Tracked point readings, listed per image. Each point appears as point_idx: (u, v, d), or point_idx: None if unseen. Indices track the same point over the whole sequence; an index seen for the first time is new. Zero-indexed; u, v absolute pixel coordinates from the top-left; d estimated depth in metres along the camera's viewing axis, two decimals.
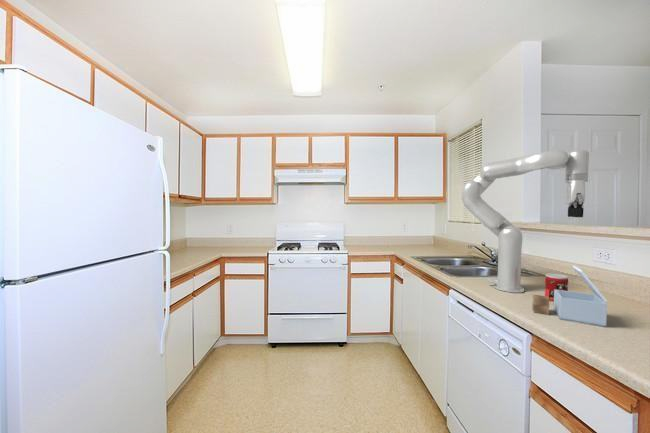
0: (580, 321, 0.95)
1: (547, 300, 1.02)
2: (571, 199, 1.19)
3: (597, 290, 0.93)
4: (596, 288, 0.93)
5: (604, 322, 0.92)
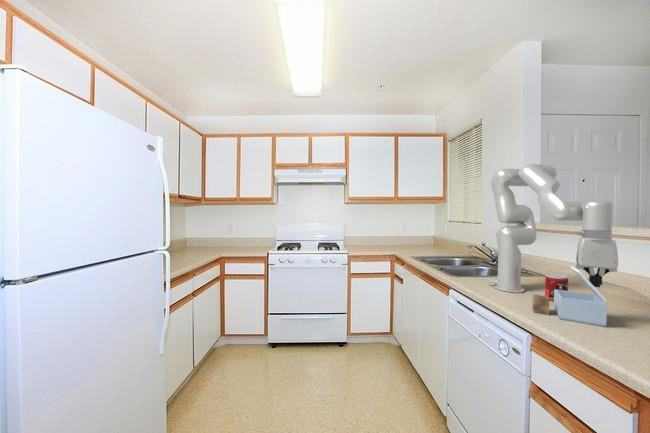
0: (580, 321, 0.95)
1: (547, 300, 1.02)
2: (617, 264, 0.93)
3: (596, 290, 0.93)
4: (595, 288, 0.94)
5: (604, 322, 0.92)
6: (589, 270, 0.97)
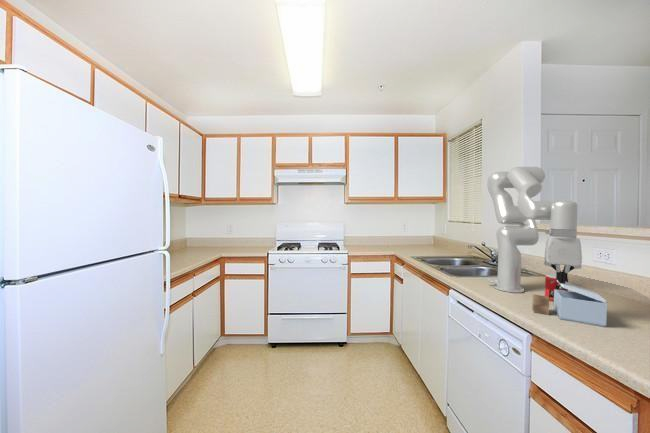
0: (580, 321, 0.95)
1: (547, 300, 1.02)
2: (581, 261, 0.98)
3: (590, 295, 0.94)
4: (588, 294, 0.95)
5: (604, 322, 0.92)
6: (555, 267, 1.02)
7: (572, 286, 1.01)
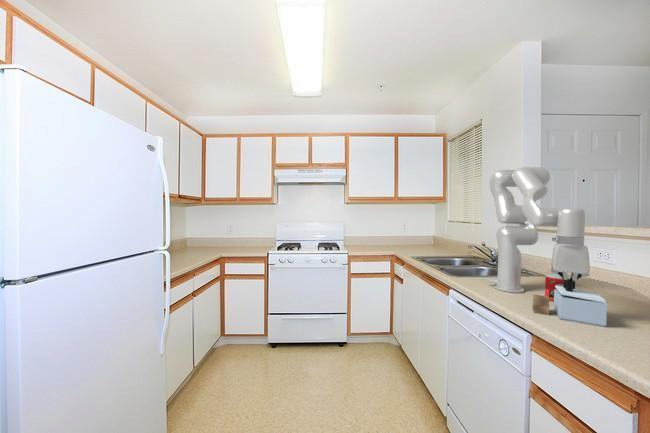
0: (580, 321, 0.95)
1: (547, 300, 1.02)
2: (589, 269, 0.96)
3: (589, 298, 0.94)
4: (587, 297, 0.95)
5: (604, 322, 0.92)
6: (563, 275, 1.01)
7: (570, 291, 1.01)
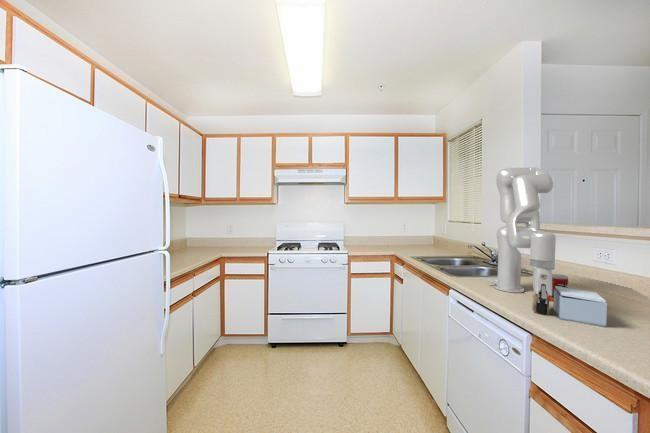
0: (580, 321, 0.95)
1: (547, 300, 1.02)
2: None
3: (589, 298, 0.94)
4: (586, 297, 0.95)
5: (604, 322, 0.92)
6: (546, 299, 1.01)
7: (570, 291, 1.01)
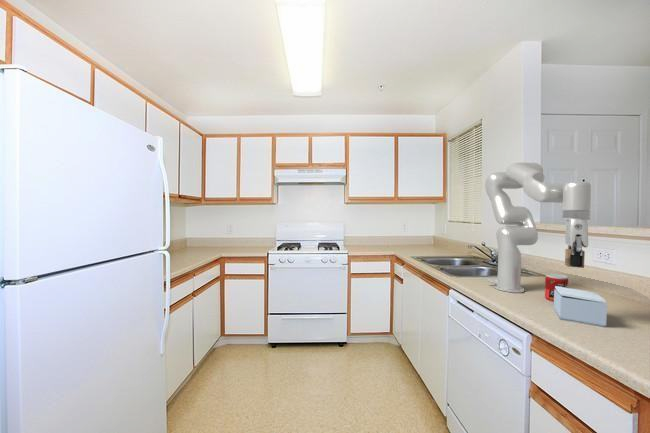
0: (580, 321, 0.95)
1: (582, 252, 0.97)
2: None
3: (589, 298, 0.94)
4: (586, 297, 0.95)
5: (604, 322, 0.92)
6: None
7: (570, 291, 1.01)
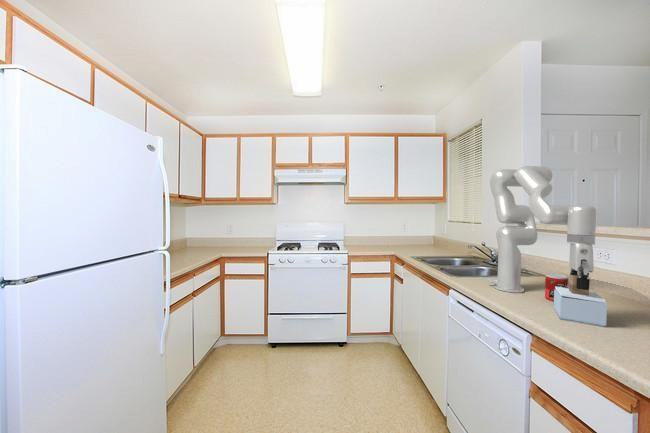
0: (580, 321, 0.95)
1: None
2: None
3: (589, 299, 0.94)
4: (586, 298, 0.95)
5: (604, 322, 0.92)
6: (587, 273, 0.95)
7: None
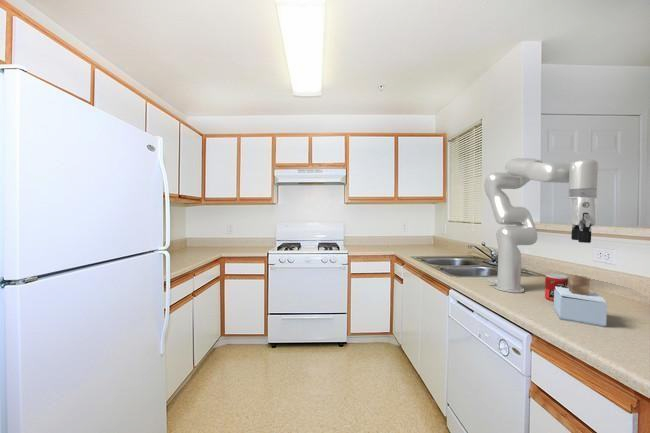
0: (580, 321, 0.95)
1: (587, 280, 0.97)
2: None
3: (589, 299, 0.94)
4: (586, 298, 0.95)
5: (604, 322, 0.92)
6: None
7: None
